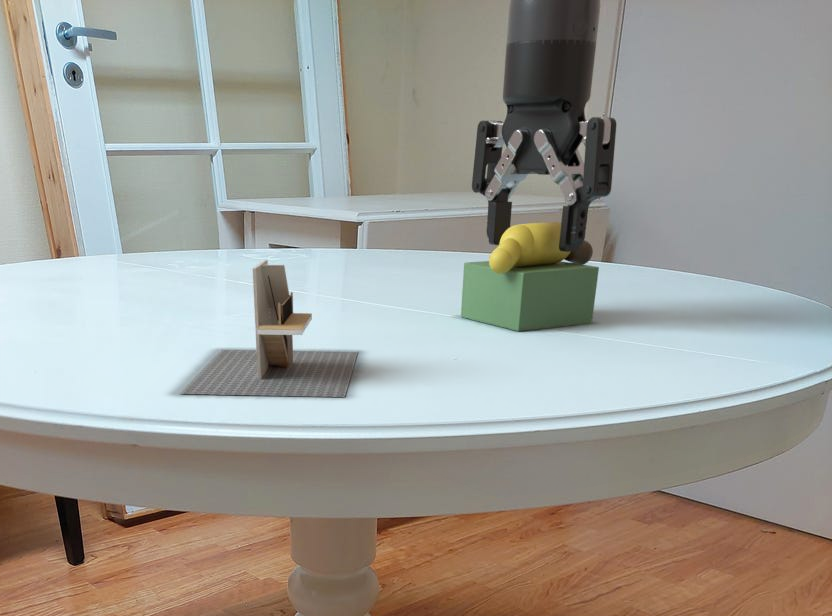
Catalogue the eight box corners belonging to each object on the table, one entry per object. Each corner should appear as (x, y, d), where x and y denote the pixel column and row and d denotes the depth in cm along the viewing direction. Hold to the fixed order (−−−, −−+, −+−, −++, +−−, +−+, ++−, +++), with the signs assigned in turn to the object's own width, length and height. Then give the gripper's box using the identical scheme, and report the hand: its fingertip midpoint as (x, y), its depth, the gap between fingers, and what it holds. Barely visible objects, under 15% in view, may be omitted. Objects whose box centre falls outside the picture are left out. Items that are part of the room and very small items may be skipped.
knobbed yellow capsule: (561, 236, 88) (587, 211, 85) (580, 273, 88) (606, 249, 85) (466, 244, 80) (490, 217, 77) (486, 284, 80) (511, 259, 77)
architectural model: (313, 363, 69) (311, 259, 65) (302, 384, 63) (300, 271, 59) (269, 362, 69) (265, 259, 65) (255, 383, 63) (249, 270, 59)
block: (531, 309, 92) (536, 257, 89) (592, 323, 85) (599, 266, 82) (460, 317, 88) (463, 262, 85) (518, 331, 81) (523, 272, 78)
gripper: (649, 36, 72) (620, 251, 80) (516, 48, 82) (502, 240, 90) (592, 29, 68) (567, 257, 76) (460, 43, 78) (450, 244, 86)
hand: (532, 247), depth 83 cm, fingers open, 8 cm apart
